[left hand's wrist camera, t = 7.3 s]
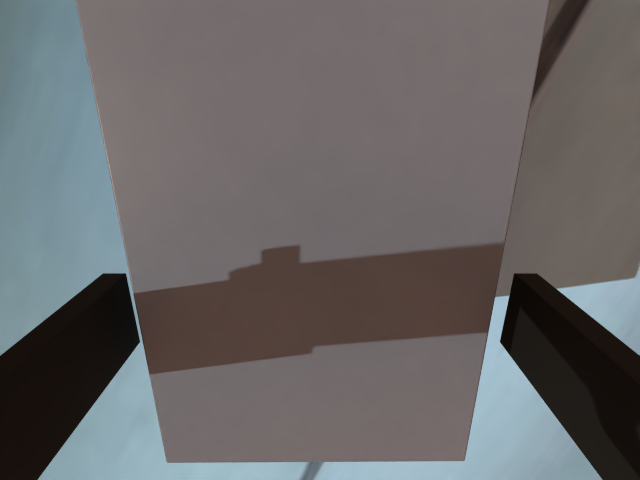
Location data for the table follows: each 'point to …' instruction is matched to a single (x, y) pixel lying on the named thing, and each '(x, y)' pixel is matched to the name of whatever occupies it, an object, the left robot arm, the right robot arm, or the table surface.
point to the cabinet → (313, 213)
